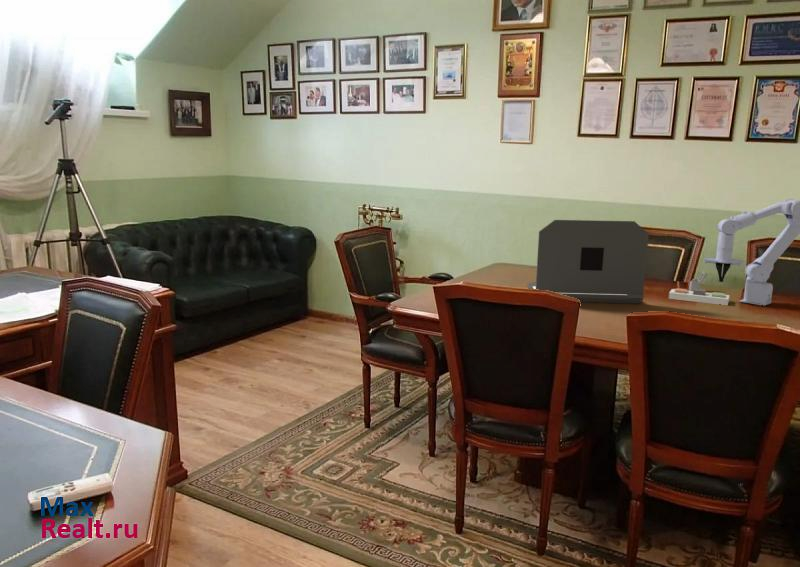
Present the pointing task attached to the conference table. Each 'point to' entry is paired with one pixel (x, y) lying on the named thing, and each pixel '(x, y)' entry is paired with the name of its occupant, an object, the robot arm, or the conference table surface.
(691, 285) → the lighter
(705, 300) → the button panel
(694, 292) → the charcoal button
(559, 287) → the laptop
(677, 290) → the terracotta button
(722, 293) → the sage button
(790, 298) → the conference table surface
